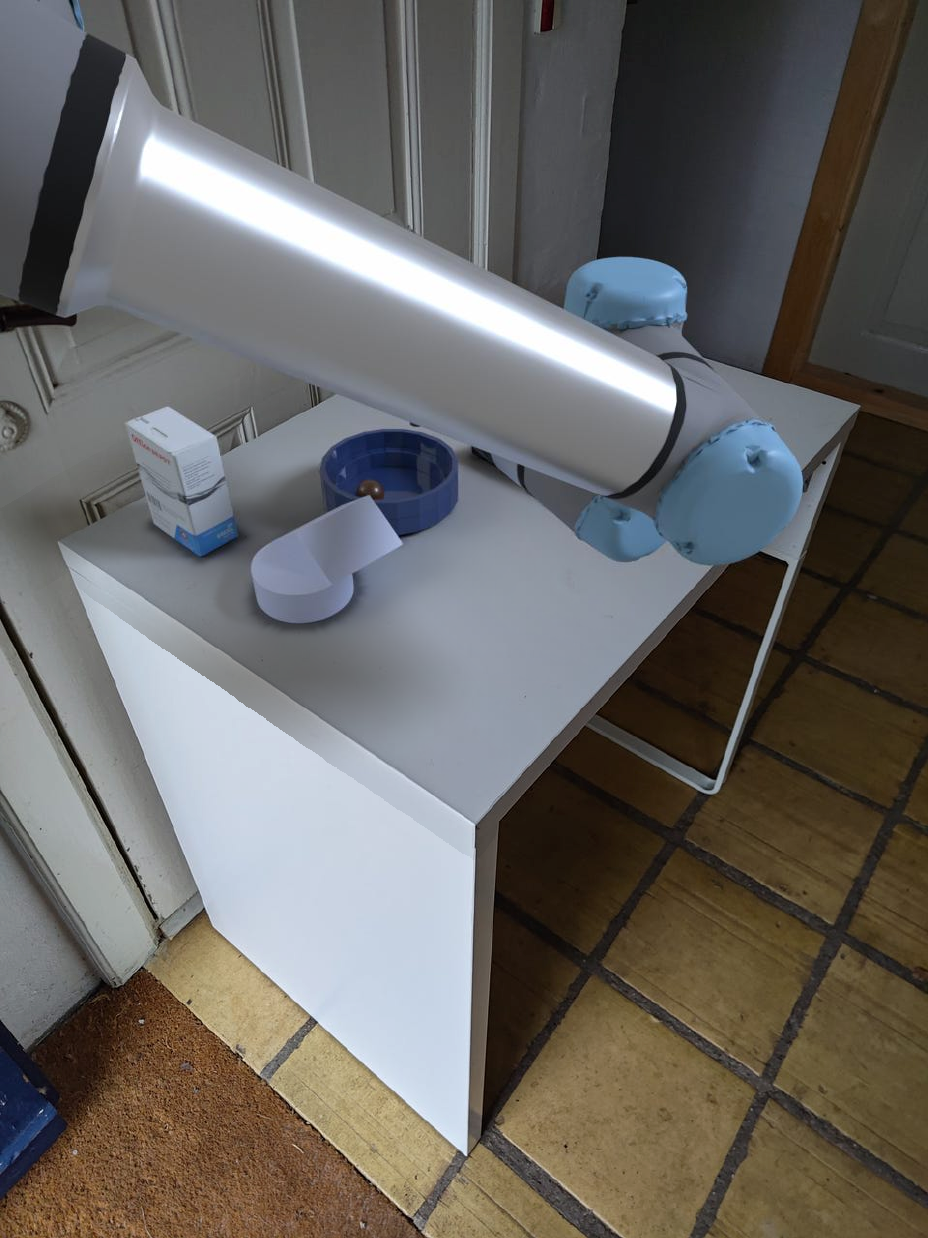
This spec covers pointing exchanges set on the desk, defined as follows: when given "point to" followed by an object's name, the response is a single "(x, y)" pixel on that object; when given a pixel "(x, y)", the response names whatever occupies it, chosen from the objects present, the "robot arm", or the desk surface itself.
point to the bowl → (394, 475)
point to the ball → (370, 489)
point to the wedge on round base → (320, 562)
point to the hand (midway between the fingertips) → (386, 324)
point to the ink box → (183, 479)
